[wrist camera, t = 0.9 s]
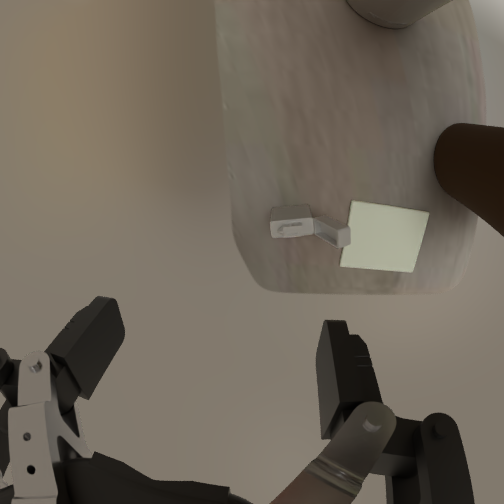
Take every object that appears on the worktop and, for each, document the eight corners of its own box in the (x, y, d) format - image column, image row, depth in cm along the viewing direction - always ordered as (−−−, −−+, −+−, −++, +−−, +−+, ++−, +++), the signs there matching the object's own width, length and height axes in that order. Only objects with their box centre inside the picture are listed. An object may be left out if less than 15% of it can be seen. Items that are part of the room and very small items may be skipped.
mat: (351, 199, 29) (352, 201, 29) (427, 211, 28) (429, 213, 28) (339, 264, 33) (339, 266, 32) (410, 270, 32) (412, 272, 32)
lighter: (273, 222, 31) (269, 255, 24) (271, 207, 31) (267, 237, 24) (336, 216, 30) (352, 248, 23) (335, 201, 29) (351, 229, 22)
